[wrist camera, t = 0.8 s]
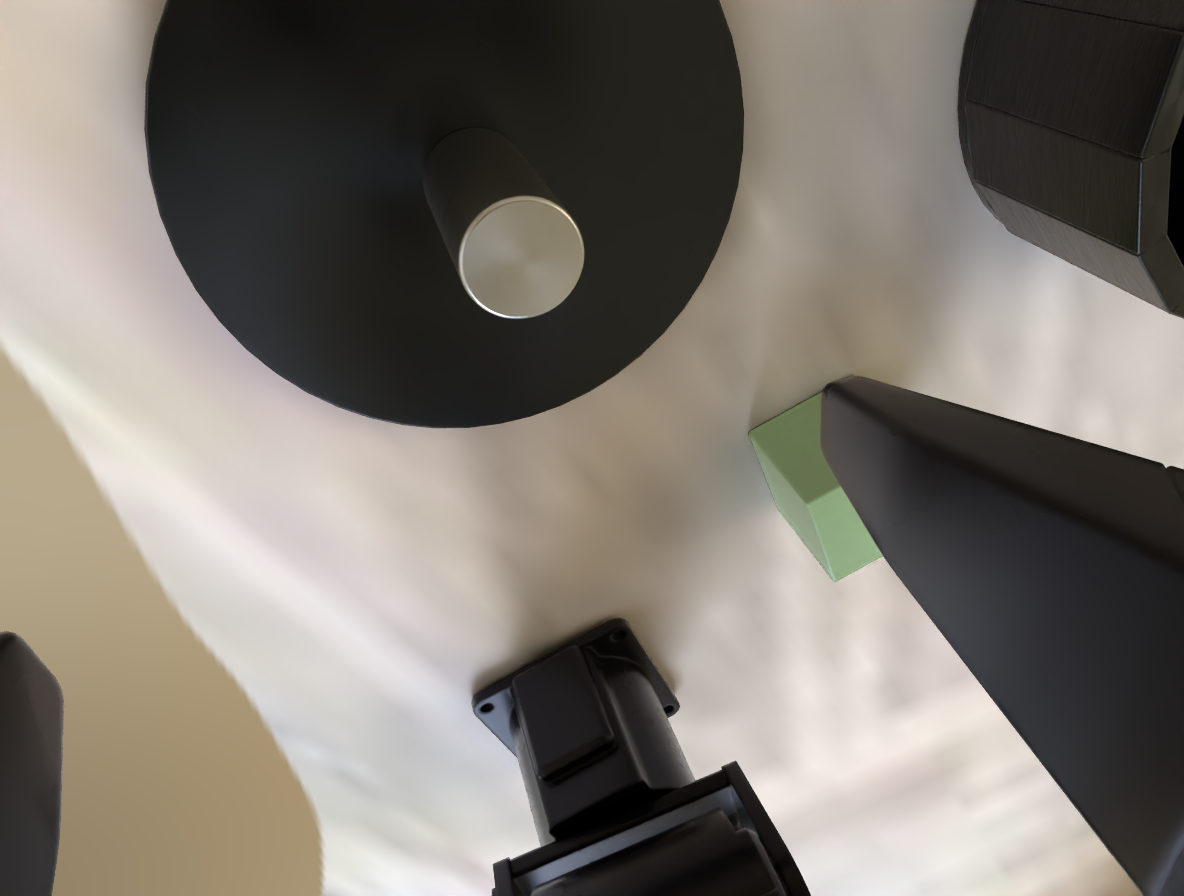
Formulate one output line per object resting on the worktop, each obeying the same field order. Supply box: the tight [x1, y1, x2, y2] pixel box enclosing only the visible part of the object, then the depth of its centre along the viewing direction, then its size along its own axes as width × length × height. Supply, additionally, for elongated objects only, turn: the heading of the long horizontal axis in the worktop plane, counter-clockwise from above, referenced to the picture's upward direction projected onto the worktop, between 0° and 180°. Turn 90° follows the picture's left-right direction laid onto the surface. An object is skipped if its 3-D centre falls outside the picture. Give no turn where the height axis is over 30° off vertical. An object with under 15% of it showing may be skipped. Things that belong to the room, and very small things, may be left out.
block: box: [749, 375, 883, 582], centre depth 27 cm, size 4×4×4 cm
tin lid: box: [144, 0, 744, 428], centre depth 18 cm, size 14×14×6 cm
